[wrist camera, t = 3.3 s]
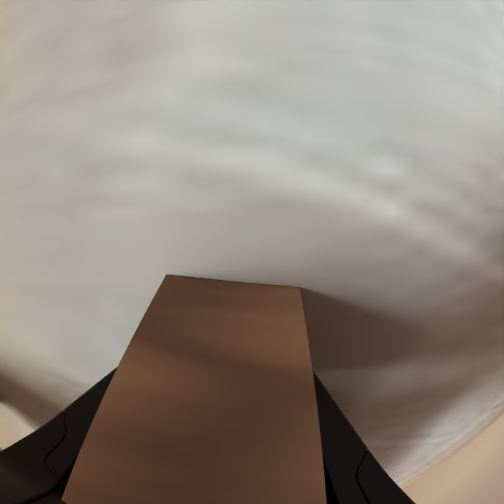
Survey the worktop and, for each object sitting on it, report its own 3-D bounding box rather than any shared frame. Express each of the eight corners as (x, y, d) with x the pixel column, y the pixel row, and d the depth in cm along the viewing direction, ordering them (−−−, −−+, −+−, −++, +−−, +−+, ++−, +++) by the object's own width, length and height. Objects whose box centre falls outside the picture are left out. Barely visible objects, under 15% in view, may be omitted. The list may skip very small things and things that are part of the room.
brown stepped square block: (176, 363, 10) (123, 557, 3) (166, 274, 9) (49, 536, 2) (281, 374, 10) (282, 579, 3) (299, 287, 9) (329, 586, 2)
